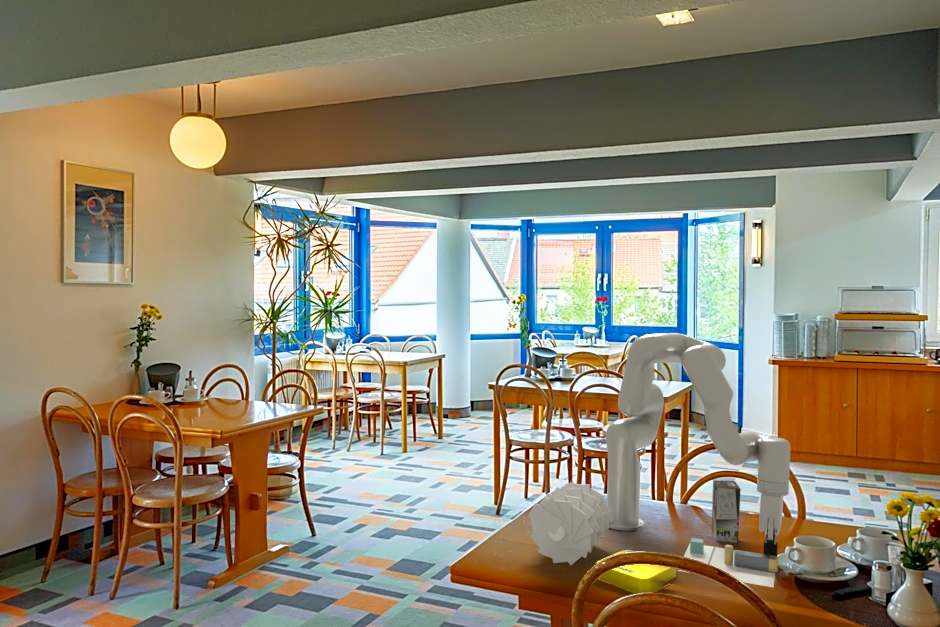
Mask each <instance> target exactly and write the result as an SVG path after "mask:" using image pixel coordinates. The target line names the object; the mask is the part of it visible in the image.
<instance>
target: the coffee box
mask: <svg viewBox="0 0 940 627" xmlns="http://www.w3.org/2000/svg"><path fill="white" fill-rule="evenodd" d="M741 489H742V488H740V486H739V485H738V484H737V482H736V481H735V480H714V479H713V480H712V501H711V502H712V504H711V506H712V508H711V537H712V538H713V539H714V540H715V541H717V542H725V543H726V542H728V543H739V534H740V533H739V532H740V531H739V530H740V509H741V508H740V506H741V491H742V490H741Z"/></svg>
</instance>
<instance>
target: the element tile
mask: <svg viewBox="0 0 940 627" xmlns="http://www.w3.org/2000/svg"><path fill="white" fill-rule="evenodd" d="M625 552H637V551H636V550H632V549H623V550H620V551H618V552H615V553H613V554H611V555H608V556H606V557H604V558H600V559H599V560H597V561H595V564H597V563H598V562H600V561H601V560H603V559H605V558H607V557H609V556H612V555H616V554H620V553H625ZM595 564H594V565H595ZM676 576H677V568H676V569H675V568H670V567H665V566H659V565H650V564H634V565H625V566H620V567H617V568H614V569H612V570H610V571H608V572H606V573H605V574H603V575H602V576H601V577H600V580H604V581H607V582H609V583H612V584H614V585H617V586H619V587H621V588H623V589H625V590H624V591H627V592H628V593H629V592H630V593H632V594H634V593H641V592H656V593H658V592H659V591H661V590H662V589H661V588H662V587H664V586H665V585H667V584H668V583H669V581H671V580H673V579H675V578H676ZM623 589H622V590H623ZM660 589H661V590H660ZM658 590H659V591H658Z"/></svg>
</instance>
